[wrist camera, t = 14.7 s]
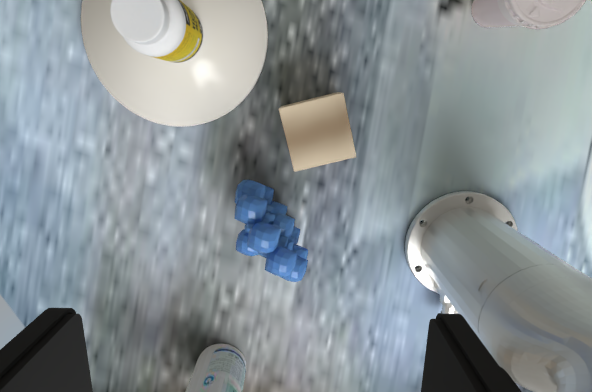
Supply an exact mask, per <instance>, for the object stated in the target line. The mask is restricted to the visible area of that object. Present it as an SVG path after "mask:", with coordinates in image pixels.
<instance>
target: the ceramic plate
mask: <svg viewBox="0 0 592 392" xmlns="http://www.w3.org/2000/svg"><path fill="white" fill-rule="evenodd" d="M181 1H182V2H183V3H184V4H185V5H187V6H188V7H189V8H190V9H191V10H192V11H193V12H194V13H195V14H196V15H197V17H198V18H199V20H200V22H201V24H202V28H203V43H202V46H201V48H200V50H199V52H198V53H197V54H196V55H195V56H194V57H193V58H192V59H190V60H188V61H185V62H181V63H174V62H169V61H165V60H161V59H157V58H154V57H150V56H146V55H144V54H141V53H139V52H137V51H136V50H134V49H133V48H132V47H131V46H130V45H129V44H128V43H127V42H126V41H125V39H124V38H123V36H122V35H121V34H120V33H119V32H118V31H117V30H116V28H115V26H114V24H113V22H112V19H111V14H110V7H111V2H112V0H83V1H82V8H81V29H82V36H83V42H84V46H85V49H86V53H87V56H88V58H89V61H90V63H91V65H92V68H93V70H94V71H95V73H96V75H97V76H98V78H99V80H100V81H101V83H102V84H103V85H104V87H105V88H106V89H107V91H108V92H109V93H110V94H111V95H112V96H113V97H114V98H115V99H116V100H117V101H118V102H120V103H121V104H122V105H123V106H124V107H126V108H127V109H129V110H130V111H132V112H133V113H135V114H136V115H138V116H140V117H142V118H145V119H147V120H149V121H152V122H155V123H158V124H163V125H168V126H178V127H184V126H195V125H200V124H204V123H207V122H210V121H213V120H216V119H218V118H220V117H222V116H224V115H226V114H228V113H229V112H231V111H232V110H233V109H235V108H236V107H237V106H238V105H239V104H241V103H242V102H243V101H244V100H245V98H246V97H247V96H248V95H249V94H250V92H251V91H252V89H253V88H254V86H255V85H256V83H257V81H258V79H259V77H260V75H261V72H262V69H263V66H264V63H265V60H266V54H267V48H268V26H267V19H266V14H265V10H264V6H263V3H262V0H181Z"/></svg>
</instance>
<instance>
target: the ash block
mask: <svg viewBox="0 0 592 392" xmlns="http://www.w3.org/2000/svg"><path fill="white" fill-rule="evenodd" d="M279 112H280V116H281V120H282V124H283V128H284V132H285V136H286V140H287V144H288V148H289V152H290V156H291V160H292V164H293V168H294V172H296V171H300V170H304V169H308V168H312V167H317V166H321V165H325V164H329V163H333V162H338V161H342V160H346V159H350V158H354V157H356V153H355V148H354V143H353V138H352V133H351V128H350V123H349V118H348V113H347V109H346V104H345V99H344V94H343V93H339V92H336V93H332V94H328V95H324V96H320V97H316V98H312V99H308V100H304V101H300V102H296V103H292V104H288V105H284V106H281V107H280V108H279Z"/></svg>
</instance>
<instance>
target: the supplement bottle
mask: <svg viewBox="0 0 592 392" xmlns="http://www.w3.org/2000/svg"><path fill="white" fill-rule="evenodd" d="M110 14H111V19H112V22H113V24H114V26H115V28H116V30H117V31H118V32H119V33H120V34H121V35H122V36H123V38H124V39H125V41H126V42H127V43H128V44H129V45H130V46H131V47H132V48H133V49H134V50H136V51H137V52H139V53H141V54H144V55H146V56H150V57H154V58H157V59H161V60H165V61H169V62H174V63H181V62H185V61H188V60H190V59H192V58H193V57H194V56H195V55H196V54H197V53H198V52H199V50H200V48H201V46H202V43H203V28H202V24H201V22H200V20H199V18H198V17H197V15H196V14H195V13H194V12H193V11H192V10H191V9H190V8H189V7H188V6H187V5H185V4H184V3H183V2H182V1H181V0H112V2H111V7H110Z"/></svg>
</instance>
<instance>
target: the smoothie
mask: <svg viewBox="0 0 592 392" xmlns="http://www.w3.org/2000/svg"><path fill="white" fill-rule="evenodd" d="M585 1H586V0H474V1H473V4H472V16H473V19H474V20H475V22H476V23H477V24H478V25H480V26H482V27H486V28H492V27H513V26H524V27H526V28H532V29H545V28H549V27H552V26H554V25H558V24H560V23H563V22H565V21H566V20H568V19H569V18H571V17H572V16H573V15H574V14H576V13H577V12H578V11H579V9H580V8H581V7H582V6H583V4H584V3H585Z"/></svg>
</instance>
